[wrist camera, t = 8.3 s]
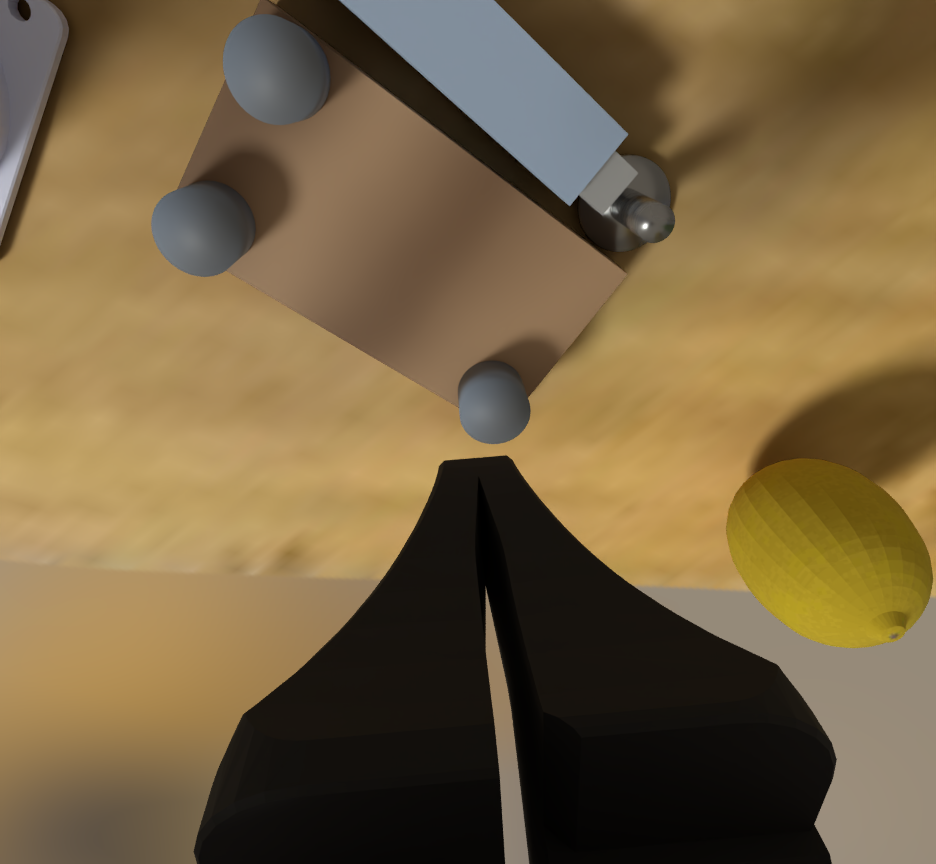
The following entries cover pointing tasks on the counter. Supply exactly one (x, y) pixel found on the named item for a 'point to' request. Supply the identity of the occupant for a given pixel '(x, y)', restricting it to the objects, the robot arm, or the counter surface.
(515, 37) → the hinged leg
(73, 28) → the counter surface
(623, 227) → the pivot pin
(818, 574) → the lemon
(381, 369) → the counter surface
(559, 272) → the board
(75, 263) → the counter surface
